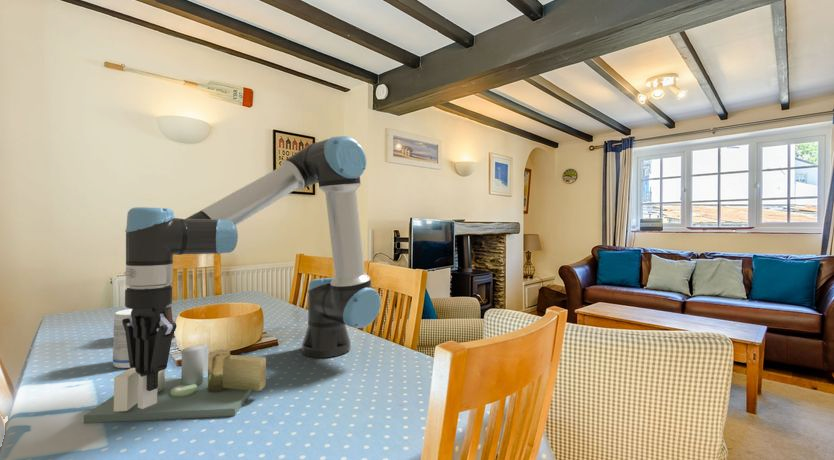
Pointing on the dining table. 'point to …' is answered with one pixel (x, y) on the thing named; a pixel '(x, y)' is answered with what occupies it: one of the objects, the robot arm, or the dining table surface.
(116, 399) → the cream piece
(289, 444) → the dining table surface
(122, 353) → the supplement tub
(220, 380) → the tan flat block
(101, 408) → the base
